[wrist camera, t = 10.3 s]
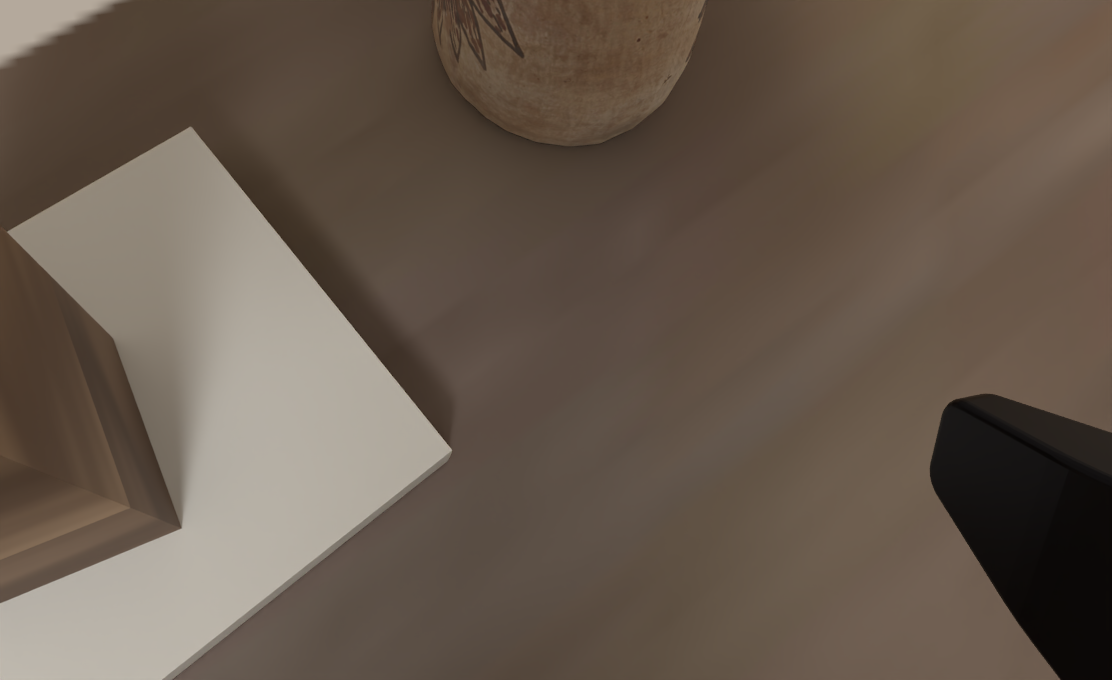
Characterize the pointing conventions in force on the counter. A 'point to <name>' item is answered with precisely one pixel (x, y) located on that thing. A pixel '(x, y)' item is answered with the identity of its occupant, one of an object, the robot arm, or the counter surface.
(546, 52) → the figurine
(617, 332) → the counter surface
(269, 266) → the tile
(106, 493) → the walnut box
